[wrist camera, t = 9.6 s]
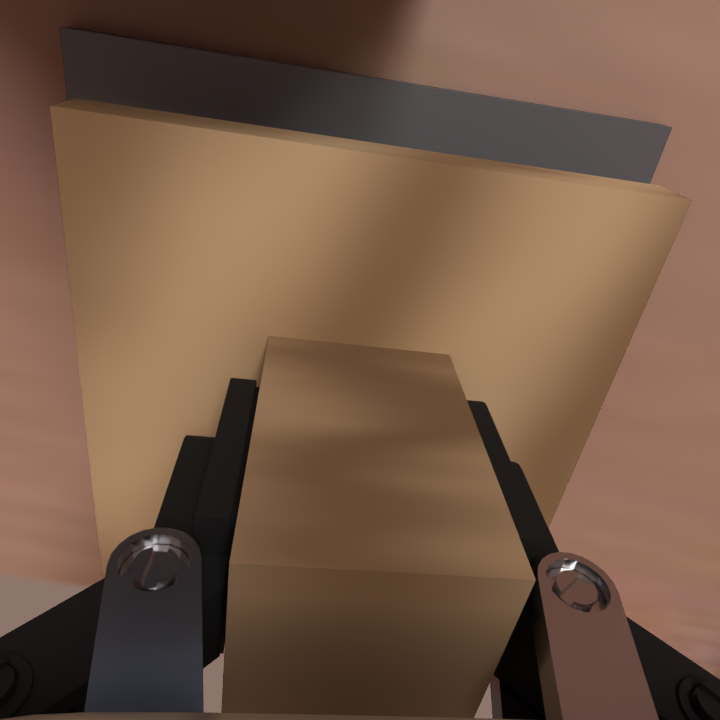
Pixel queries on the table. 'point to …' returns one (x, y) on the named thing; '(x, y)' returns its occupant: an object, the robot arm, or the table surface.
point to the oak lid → (347, 378)
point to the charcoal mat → (355, 106)
